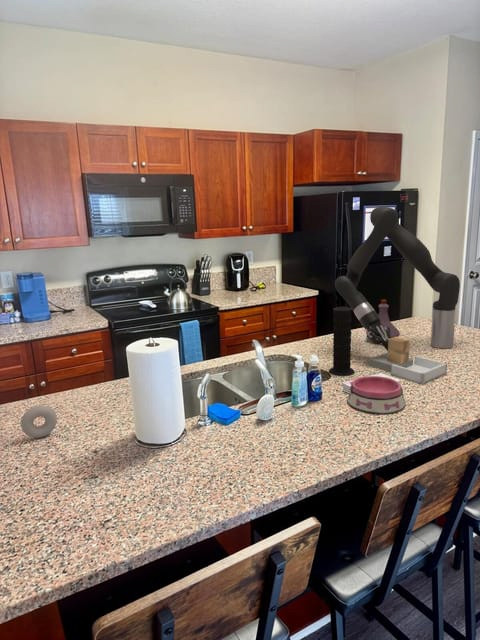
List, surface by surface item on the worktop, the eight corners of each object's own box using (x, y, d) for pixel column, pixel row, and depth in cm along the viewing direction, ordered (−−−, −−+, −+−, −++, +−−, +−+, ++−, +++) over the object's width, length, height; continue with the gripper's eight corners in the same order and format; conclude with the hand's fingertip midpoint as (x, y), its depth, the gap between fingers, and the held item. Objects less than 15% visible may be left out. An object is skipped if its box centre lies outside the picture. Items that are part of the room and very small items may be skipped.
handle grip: (331, 376, 170) (357, 375, 170) (331, 309, 164) (358, 308, 164) (326, 367, 180) (351, 366, 180) (327, 304, 174) (352, 303, 173)
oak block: (395, 357, 179) (396, 336, 177) (408, 361, 174) (409, 339, 172) (387, 360, 176) (388, 338, 174) (400, 364, 171) (401, 342, 169)
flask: (359, 337, 220) (360, 298, 215) (391, 335, 222) (392, 296, 217) (372, 347, 204) (374, 304, 199) (406, 344, 206) (408, 302, 201)
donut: (24, 444, 129) (18, 412, 127) (22, 439, 132) (17, 408, 129) (60, 434, 134) (55, 403, 132) (58, 429, 137) (53, 399, 134)
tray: (415, 365, 178) (416, 355, 177) (446, 373, 168) (447, 363, 167) (391, 374, 169) (391, 364, 168) (422, 384, 159) (422, 373, 158)
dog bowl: (345, 391, 157) (346, 372, 155) (400, 392, 153) (401, 374, 152) (347, 413, 139) (348, 393, 138) (410, 416, 136) (411, 396, 134)
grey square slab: (387, 359, 187) (387, 352, 186) (412, 366, 177) (413, 359, 177) (369, 365, 180) (369, 358, 179) (394, 373, 170) (394, 366, 170)
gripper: (361, 312, 178) (386, 348, 171) (382, 307, 185) (406, 341, 178) (351, 323, 183) (374, 358, 176) (371, 317, 190) (395, 351, 184)
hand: (390, 349), depth 177 cm, fingers closed
